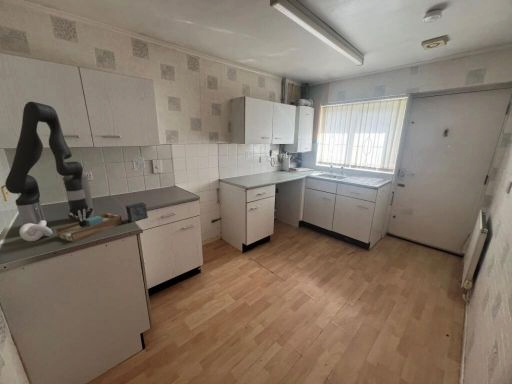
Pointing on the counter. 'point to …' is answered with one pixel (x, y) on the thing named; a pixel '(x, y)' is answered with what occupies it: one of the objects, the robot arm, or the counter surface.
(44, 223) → the white knot sculpture
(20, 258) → the counter surface
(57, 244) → the counter surface
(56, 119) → the robot arm
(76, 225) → the track
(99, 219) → the block
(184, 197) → the counter surface
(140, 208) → the small box
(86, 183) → the canister
